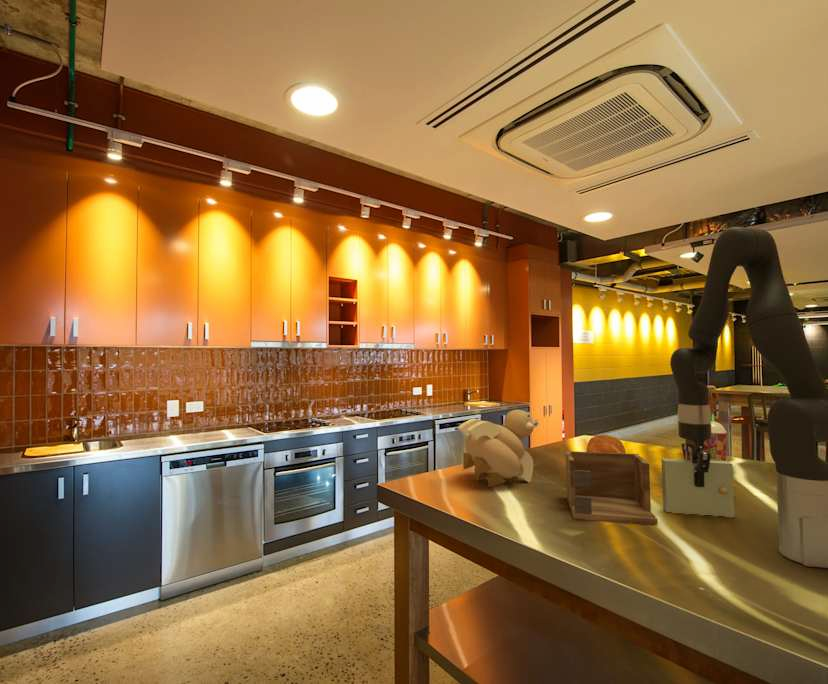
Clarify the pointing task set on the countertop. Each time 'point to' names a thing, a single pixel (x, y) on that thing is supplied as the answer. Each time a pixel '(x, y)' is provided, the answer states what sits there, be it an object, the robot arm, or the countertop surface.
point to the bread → (605, 445)
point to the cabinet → (608, 487)
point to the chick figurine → (499, 447)
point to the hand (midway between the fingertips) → (696, 484)
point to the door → (697, 488)
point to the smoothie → (717, 441)
